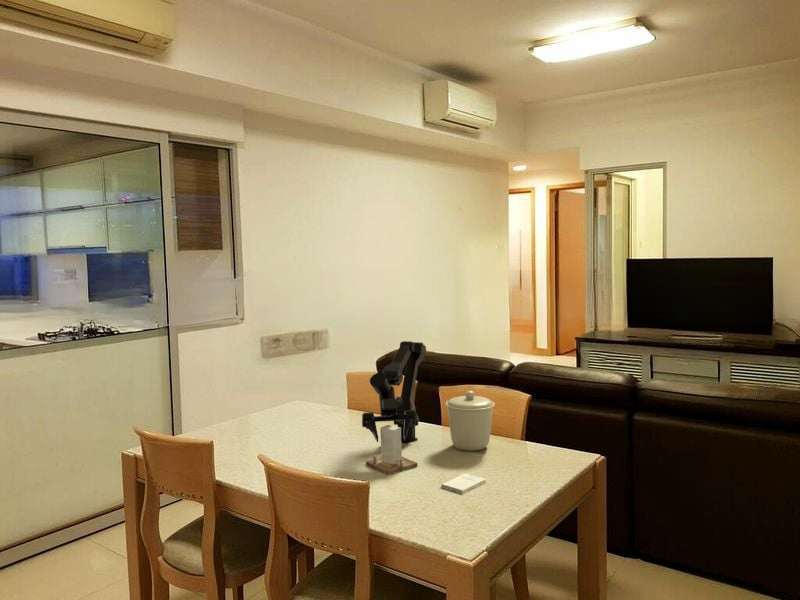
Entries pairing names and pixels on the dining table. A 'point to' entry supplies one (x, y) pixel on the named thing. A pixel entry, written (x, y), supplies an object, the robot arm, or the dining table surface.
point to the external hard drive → (463, 483)
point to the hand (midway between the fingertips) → (391, 440)
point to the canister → (470, 421)
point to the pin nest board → (390, 465)
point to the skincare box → (391, 444)
